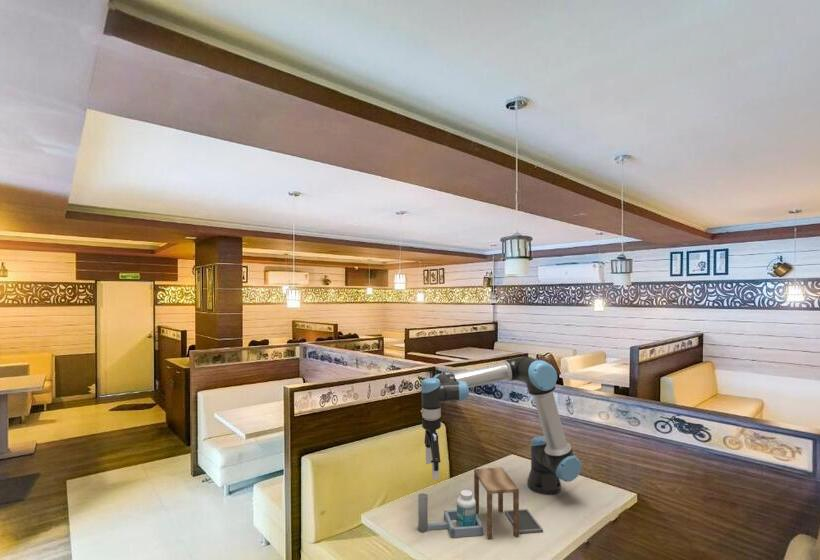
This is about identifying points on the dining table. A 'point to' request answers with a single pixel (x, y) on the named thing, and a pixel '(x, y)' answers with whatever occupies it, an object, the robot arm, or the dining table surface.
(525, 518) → the dark grey flat plate
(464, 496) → the pill bottle
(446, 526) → the grey frame on stick
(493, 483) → the tunnel
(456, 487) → the dining table surface
